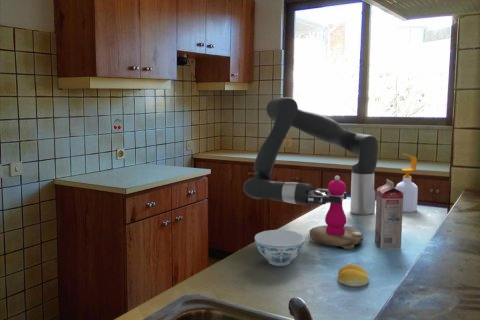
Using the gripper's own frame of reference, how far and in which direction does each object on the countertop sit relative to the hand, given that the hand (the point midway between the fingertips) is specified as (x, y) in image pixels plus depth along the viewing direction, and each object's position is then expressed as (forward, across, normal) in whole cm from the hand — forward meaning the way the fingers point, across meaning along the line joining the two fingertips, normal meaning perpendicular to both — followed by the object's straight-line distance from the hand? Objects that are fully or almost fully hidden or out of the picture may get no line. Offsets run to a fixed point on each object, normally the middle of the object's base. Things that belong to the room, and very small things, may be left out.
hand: (343, 198), depth 154 cm
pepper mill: (-3, 0, +13) cm, 13 cm away
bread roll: (+11, -30, +16) cm, 35 cm away
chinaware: (-12, -26, +16) cm, 33 cm away
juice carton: (+14, +4, +16) cm, 22 cm away
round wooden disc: (-2, 0, +16) cm, 16 cm away
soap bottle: (+13, +55, +16) cm, 59 cm away
